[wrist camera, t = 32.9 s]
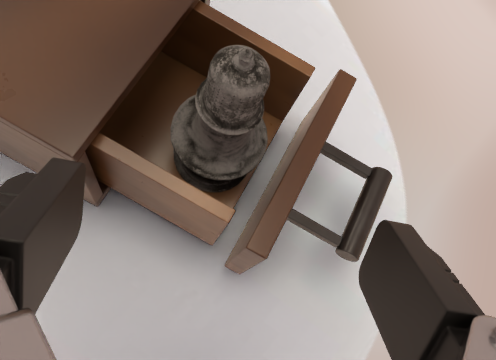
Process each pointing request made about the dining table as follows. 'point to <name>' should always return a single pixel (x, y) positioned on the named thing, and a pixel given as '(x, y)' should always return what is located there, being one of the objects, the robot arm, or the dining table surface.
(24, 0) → the cabinet
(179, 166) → the grey stone knobbed piece
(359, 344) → the dining table surface
